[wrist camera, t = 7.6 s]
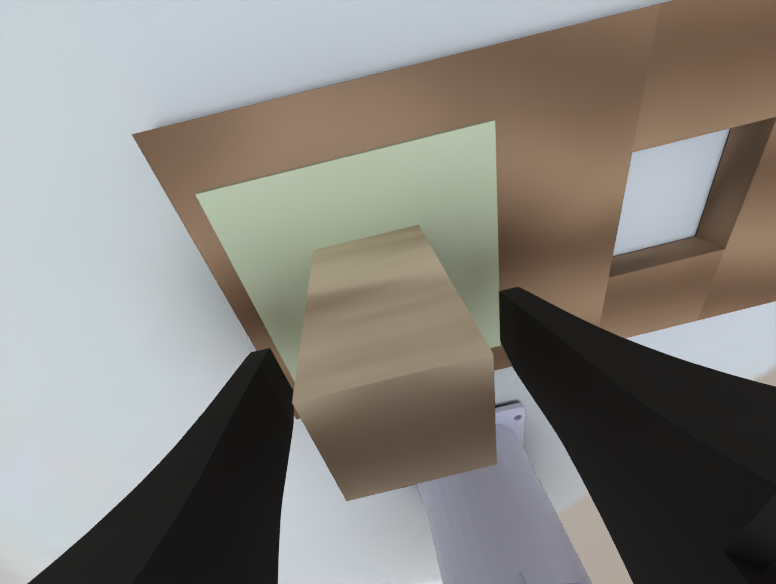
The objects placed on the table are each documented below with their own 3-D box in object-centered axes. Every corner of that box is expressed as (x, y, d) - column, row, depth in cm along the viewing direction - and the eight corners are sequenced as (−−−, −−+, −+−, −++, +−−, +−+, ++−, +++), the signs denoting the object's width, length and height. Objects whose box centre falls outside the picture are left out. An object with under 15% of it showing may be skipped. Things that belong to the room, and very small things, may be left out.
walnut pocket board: (746, 286, 19) (775, 301, 17) (299, 396, 19) (296, 419, 18) (905, -57, 11) (977, -76, 10) (154, 128, 11) (132, 134, 10)
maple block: (432, 309, 14) (497, 464, 9) (342, 331, 14) (346, 501, 9) (418, 224, 12) (493, 354, 6) (313, 250, 12) (291, 402, 6)
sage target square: (498, 341, 16) (500, 345, 16) (301, 390, 16) (301, 394, 16) (491, 119, 11) (495, 120, 11) (198, 191, 11) (195, 194, 11)
